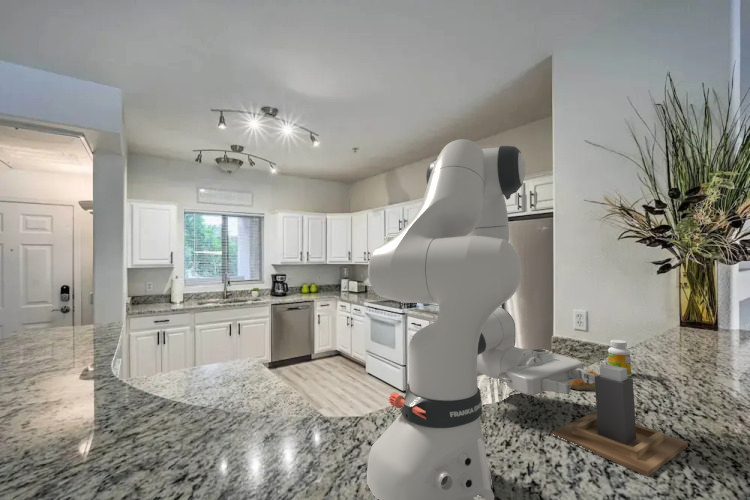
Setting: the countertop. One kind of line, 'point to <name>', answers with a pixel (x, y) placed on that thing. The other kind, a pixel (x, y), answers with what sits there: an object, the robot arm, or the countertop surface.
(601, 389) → the capped dark pillar
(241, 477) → the countertop surface
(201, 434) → the countertop surface
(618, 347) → the supplement bottle
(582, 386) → the pastry
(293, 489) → the countertop surface
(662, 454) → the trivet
